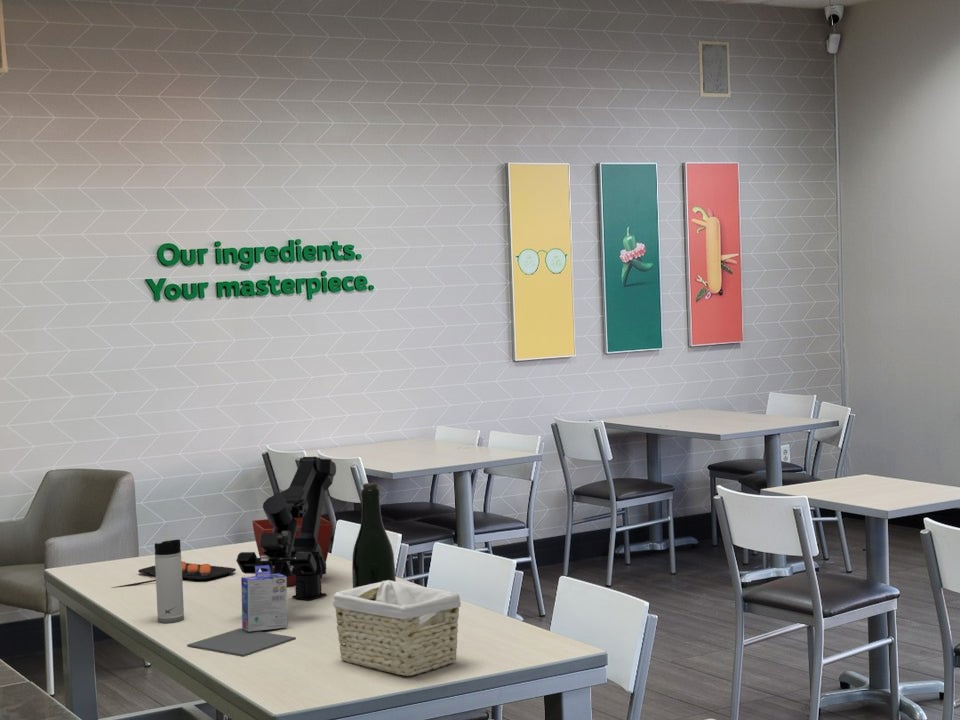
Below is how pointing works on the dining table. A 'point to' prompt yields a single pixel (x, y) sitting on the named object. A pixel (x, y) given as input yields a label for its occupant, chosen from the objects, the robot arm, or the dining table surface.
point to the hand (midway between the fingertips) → (269, 592)
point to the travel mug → (169, 581)
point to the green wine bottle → (372, 543)
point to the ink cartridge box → (264, 601)
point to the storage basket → (397, 627)
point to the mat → (241, 642)
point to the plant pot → (322, 539)
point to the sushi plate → (190, 572)
